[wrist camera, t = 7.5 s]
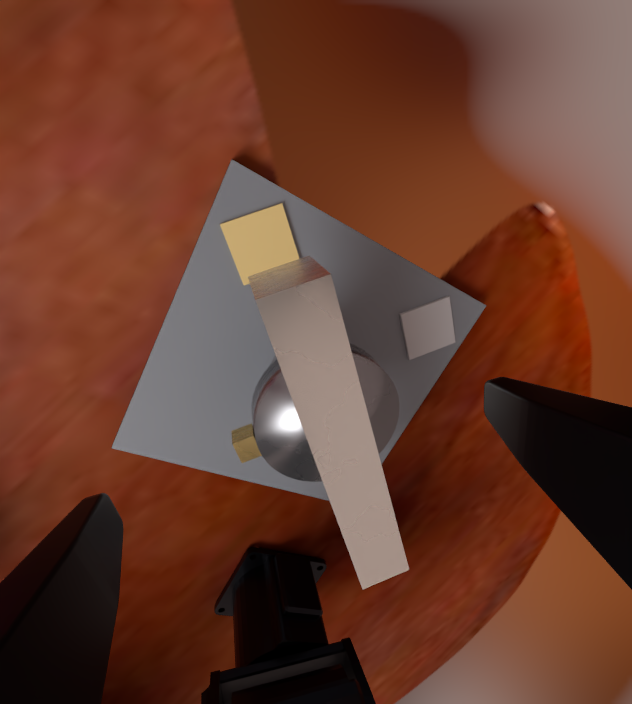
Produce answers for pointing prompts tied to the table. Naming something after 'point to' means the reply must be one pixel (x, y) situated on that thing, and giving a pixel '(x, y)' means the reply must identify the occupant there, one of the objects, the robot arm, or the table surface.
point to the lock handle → (325, 412)
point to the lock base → (252, 338)
